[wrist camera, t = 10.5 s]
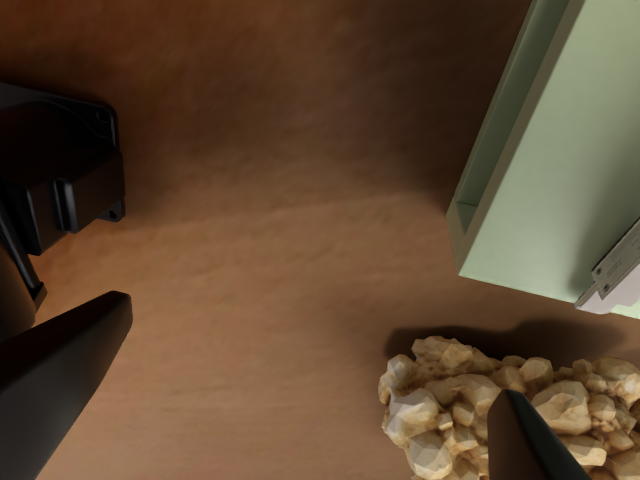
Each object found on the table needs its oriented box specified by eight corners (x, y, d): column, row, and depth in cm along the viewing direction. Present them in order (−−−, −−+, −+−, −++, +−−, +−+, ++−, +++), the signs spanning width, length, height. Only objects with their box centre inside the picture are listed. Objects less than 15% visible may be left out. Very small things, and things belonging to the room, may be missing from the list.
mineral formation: (368, 323, 25) (674, 287, 20) (419, 427, 33) (649, 422, 27) (356, 466, 19) (790, 471, 14) (422, 551, 27) (715, 576, 21)
